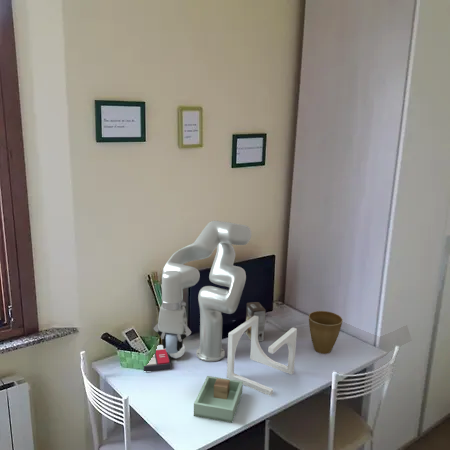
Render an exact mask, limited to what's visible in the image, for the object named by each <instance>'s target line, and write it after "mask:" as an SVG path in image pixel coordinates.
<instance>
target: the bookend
mask: <svg viewBox="0 0 450 450" xmlns="http://www.w3.org/2000/svg"><path fill="white" fill-rule="evenodd" d="M258 319H259V317H258V316H255V315H254V316H253V317H252V318H250V319H249V320H247V321H246V320H245V321H244V322H243V323H240V325H238V326H237V327H236V328H234V329H233V330H231V331H229V332H228V333H227V334H228V335H227V336H228V337H227V338H228V339H227V361H226V363H227V365H226V367H227V369H226V379H230V380H237V381H243V386H245V387H248V388H249V389H253V390H255V391H258V392H260V393H262V394H264V395H267V396H269V397H271V396H272V395H273V394H274V388H271V387H268V386H267V385H264V384H261V383H259V382H258V381H257V382H256V381H254V380H252V379H250V378H246V377H244V376H242V375H239V374H237V373H235V356H236V351H237V347H238V346H239V345H238V344H239V342H240V340H241V338H242V336H243V334H244V333H245V332H246V330H247V329H248V328H249V327H251V326H252V331H251V341H250V354H249V355H250V357H249V360H252V361H254V362H257V363H259V364H262V365H265V366H268V367H270V368H273V369H275V370H278V371H280V372H283V373H285V374H289V375H291V376H292V375H293V374H294V373H295V361H296V348H297V335H298V328H295V327H291V328H290V329H289V330H287V332H285V333H284V334H283V335H281V336H280V337H279V338H278V339H277V340H275V341H274V342H273V343H272V344H271V345H269V346H268V352H267V353H269V354H274V353H276V352H277V351H278V350H279V349H280V348H282V347H283V346H284V345H286V346H287V347H288V348H287V349H288V356H287V357H288V358H287V365H285V364H283V363H280V362H278V361H275V360H273V359H272V358H270V357H269V356H268V355H267V354H266V353H265V352H264V350H263V348H262V347H261V345H260V341H258Z"/></svg>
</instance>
